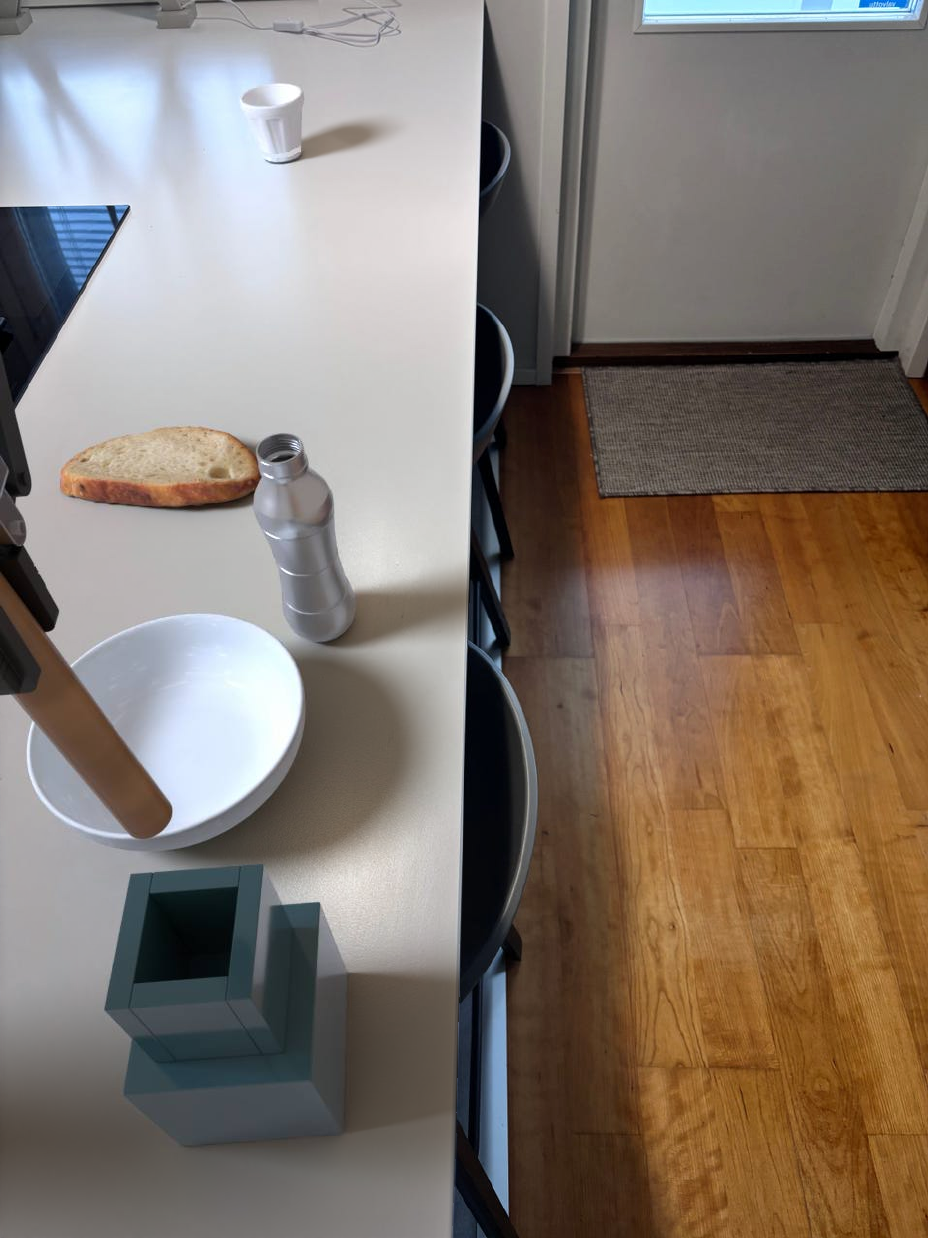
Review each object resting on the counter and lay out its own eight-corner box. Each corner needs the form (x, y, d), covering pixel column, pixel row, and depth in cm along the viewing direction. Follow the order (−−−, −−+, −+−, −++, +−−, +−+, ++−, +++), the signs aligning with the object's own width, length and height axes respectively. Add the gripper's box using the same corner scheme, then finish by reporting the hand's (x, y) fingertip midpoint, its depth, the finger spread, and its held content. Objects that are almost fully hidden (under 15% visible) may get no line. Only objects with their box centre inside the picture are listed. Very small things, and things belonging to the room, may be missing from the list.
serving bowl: (342, 669, 82) (329, 616, 77) (283, 896, 69) (263, 850, 63) (115, 655, 85) (88, 603, 80) (15, 871, 71) (-26, 825, 66)
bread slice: (50, 480, 102) (36, 452, 99) (197, 409, 109) (188, 381, 106) (125, 567, 92) (112, 539, 89) (281, 483, 99) (273, 454, 97)
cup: (323, 158, 153) (313, 96, 146) (266, 175, 150) (253, 112, 143) (299, 137, 159) (288, 77, 152) (243, 153, 156) (229, 92, 149)
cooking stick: (115, 831, 42) (-172, 497, 28) (144, 790, 44) (-117, 449, 29) (154, 846, 42) (-120, 510, 27) (182, 803, 43) (-65, 460, 28)
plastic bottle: (347, 588, 89) (309, 411, 74) (369, 638, 84) (332, 462, 69) (280, 609, 87) (227, 433, 72) (299, 661, 83) (246, 486, 68)
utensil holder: (180, 1147, 58) (64, 1046, 44) (201, 983, 65) (107, 849, 50) (343, 1134, 58) (280, 1029, 44) (347, 972, 65) (294, 835, 50)
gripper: (-313, 64, 26) (-27, 532, 39) (-702, 350, 16) (-155, 839, 29) (-37, 40, 26) (156, 517, 39) (-271, 313, 16) (86, 819, 29)
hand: (21, 655), depth 34 cm, fingers closed on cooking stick, 2 cm apart
